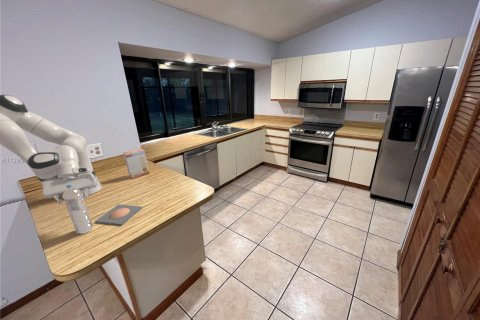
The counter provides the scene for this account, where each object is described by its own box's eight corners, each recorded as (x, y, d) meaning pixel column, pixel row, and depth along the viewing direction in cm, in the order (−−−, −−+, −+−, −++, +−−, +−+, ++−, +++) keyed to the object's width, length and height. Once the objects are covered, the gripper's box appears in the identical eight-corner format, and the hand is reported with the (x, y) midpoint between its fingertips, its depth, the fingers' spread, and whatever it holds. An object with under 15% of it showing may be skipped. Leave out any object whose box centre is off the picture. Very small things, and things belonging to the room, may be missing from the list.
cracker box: (146, 171, 168) (142, 148, 161) (149, 173, 164) (144, 149, 157) (129, 177, 159) (123, 152, 152) (131, 179, 155) (125, 153, 148)
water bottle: (82, 226, 101) (66, 182, 92) (96, 225, 101) (81, 181, 93) (72, 235, 94) (54, 189, 86) (87, 234, 95) (71, 188, 86)
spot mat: (95, 222, 103) (94, 220, 103) (118, 205, 118) (118, 204, 118) (121, 225, 100) (121, 223, 100) (142, 208, 115) (141, 206, 115)
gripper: (38, 177, 90) (40, 205, 85) (92, 167, 100) (97, 191, 96) (44, 182, 95) (46, 209, 90) (95, 172, 105) (100, 196, 101)
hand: (73, 200), depth 93 cm, fingers open, 8 cm apart
